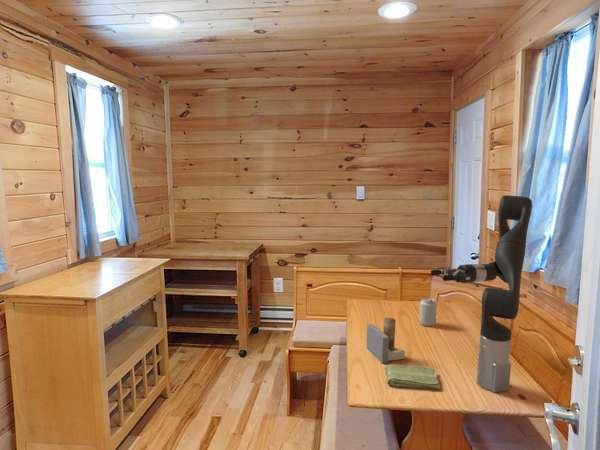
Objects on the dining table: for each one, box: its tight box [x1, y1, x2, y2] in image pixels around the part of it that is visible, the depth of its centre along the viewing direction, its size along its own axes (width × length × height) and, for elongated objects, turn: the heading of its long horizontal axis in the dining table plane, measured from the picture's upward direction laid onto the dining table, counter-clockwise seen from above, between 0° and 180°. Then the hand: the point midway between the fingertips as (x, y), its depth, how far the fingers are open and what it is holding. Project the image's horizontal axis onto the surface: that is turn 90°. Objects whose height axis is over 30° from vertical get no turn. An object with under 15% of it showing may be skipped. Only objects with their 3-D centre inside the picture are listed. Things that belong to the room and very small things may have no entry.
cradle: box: [388, 349, 406, 362], centre depth 162 cm, size 12×7×4 cm, turn 15°
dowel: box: [382, 317, 396, 351], centre depth 161 cm, size 4×4×14 cm
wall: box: [366, 323, 389, 364], centre depth 160 cm, size 14×2×10 cm, turn 15°
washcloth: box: [384, 363, 441, 390], centre depth 142 cm, size 13×18×3 cm
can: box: [418, 297, 438, 327], centre depth 194 cm, size 8×8×12 cm
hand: (437, 275), depth 166 cm, fingers open, 8 cm apart
